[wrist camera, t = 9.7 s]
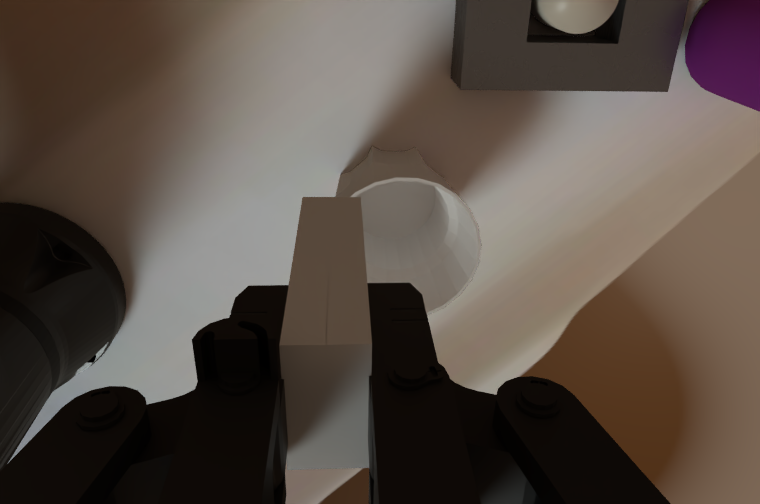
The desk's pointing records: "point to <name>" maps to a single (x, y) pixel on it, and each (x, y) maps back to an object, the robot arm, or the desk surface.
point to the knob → (573, 14)
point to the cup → (413, 226)
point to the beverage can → (727, 50)
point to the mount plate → (566, 49)
